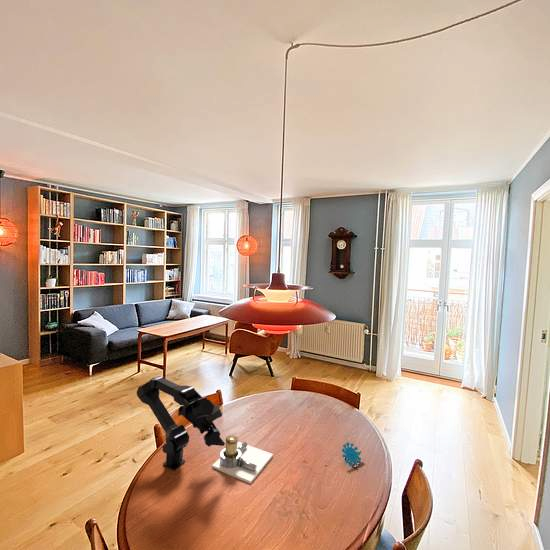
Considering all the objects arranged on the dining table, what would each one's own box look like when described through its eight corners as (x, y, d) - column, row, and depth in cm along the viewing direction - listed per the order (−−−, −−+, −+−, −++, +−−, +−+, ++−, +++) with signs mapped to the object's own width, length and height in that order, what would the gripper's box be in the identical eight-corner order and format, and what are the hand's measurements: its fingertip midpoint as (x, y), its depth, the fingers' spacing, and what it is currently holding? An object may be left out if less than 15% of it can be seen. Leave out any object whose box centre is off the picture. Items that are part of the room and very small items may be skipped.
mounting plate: (250, 483, 123) (250, 481, 123) (212, 467, 131) (212, 465, 131) (273, 456, 141) (273, 454, 141) (237, 443, 149) (237, 441, 149)
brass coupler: (232, 466, 131) (233, 443, 131) (221, 462, 133) (223, 439, 133) (238, 460, 136) (240, 437, 135) (228, 456, 138) (230, 433, 137)
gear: (348, 468, 134) (340, 442, 141) (339, 471, 138) (332, 446, 144) (367, 465, 140) (358, 440, 146) (358, 468, 143) (350, 444, 150)
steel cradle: (249, 478, 126) (250, 468, 125) (215, 464, 133) (216, 455, 132) (268, 456, 140) (268, 447, 140) (236, 444, 147) (237, 436, 147)
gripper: (216, 411, 121) (242, 435, 126) (206, 391, 138) (229, 413, 143) (194, 435, 118) (221, 458, 123) (186, 412, 135) (210, 432, 140)
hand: (221, 438), depth 133 cm, fingers open, 9 cm apart
